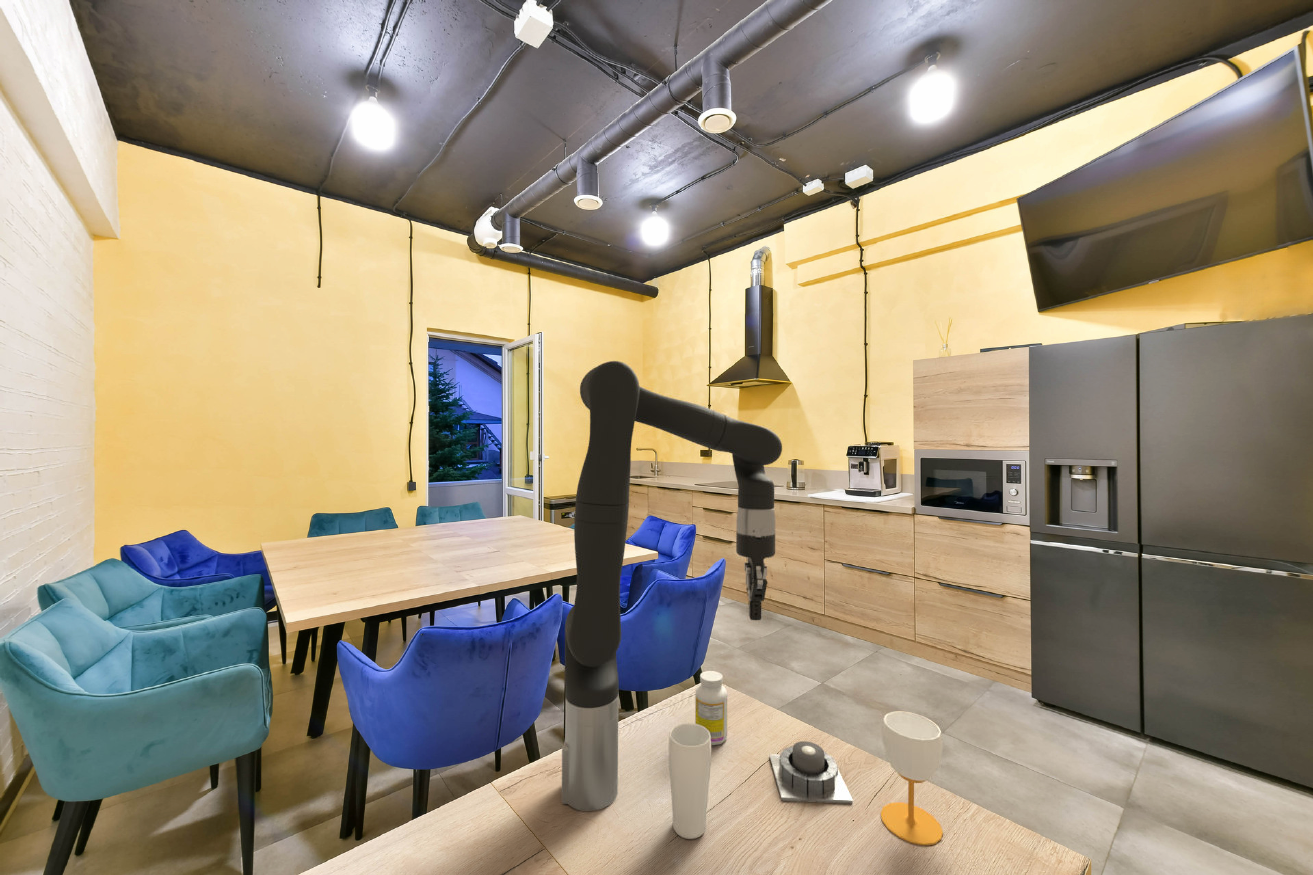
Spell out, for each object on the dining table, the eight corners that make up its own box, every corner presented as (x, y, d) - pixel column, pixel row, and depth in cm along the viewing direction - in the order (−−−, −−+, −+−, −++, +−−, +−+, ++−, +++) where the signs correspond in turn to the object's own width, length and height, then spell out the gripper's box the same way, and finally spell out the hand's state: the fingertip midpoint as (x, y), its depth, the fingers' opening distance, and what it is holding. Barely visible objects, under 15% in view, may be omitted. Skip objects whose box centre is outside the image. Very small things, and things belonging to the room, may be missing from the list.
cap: (797, 786, 90) (798, 760, 90) (788, 764, 96) (788, 740, 96) (829, 785, 90) (829, 759, 90) (817, 764, 96) (818, 740, 96)
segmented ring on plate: (781, 800, 87) (781, 782, 87) (769, 756, 99) (769, 741, 99) (852, 803, 87) (852, 785, 87) (831, 759, 99) (831, 743, 99)
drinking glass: (708, 848, 77) (709, 749, 77) (664, 840, 78) (665, 743, 78) (712, 815, 84) (713, 724, 84) (672, 809, 85) (672, 720, 85)
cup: (911, 798, 88) (912, 706, 88) (956, 837, 80) (957, 735, 80) (868, 809, 85) (869, 714, 85) (910, 851, 77) (911, 745, 77)
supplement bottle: (705, 724, 110) (705, 665, 110) (732, 735, 107) (733, 673, 107) (689, 739, 105) (689, 677, 105) (717, 750, 101) (717, 686, 101)
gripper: (733, 524, 106) (732, 607, 106) (740, 536, 93) (739, 631, 93) (769, 525, 106) (768, 608, 106) (781, 537, 93) (781, 632, 93)
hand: (755, 618), depth 99 cm, fingers closed
